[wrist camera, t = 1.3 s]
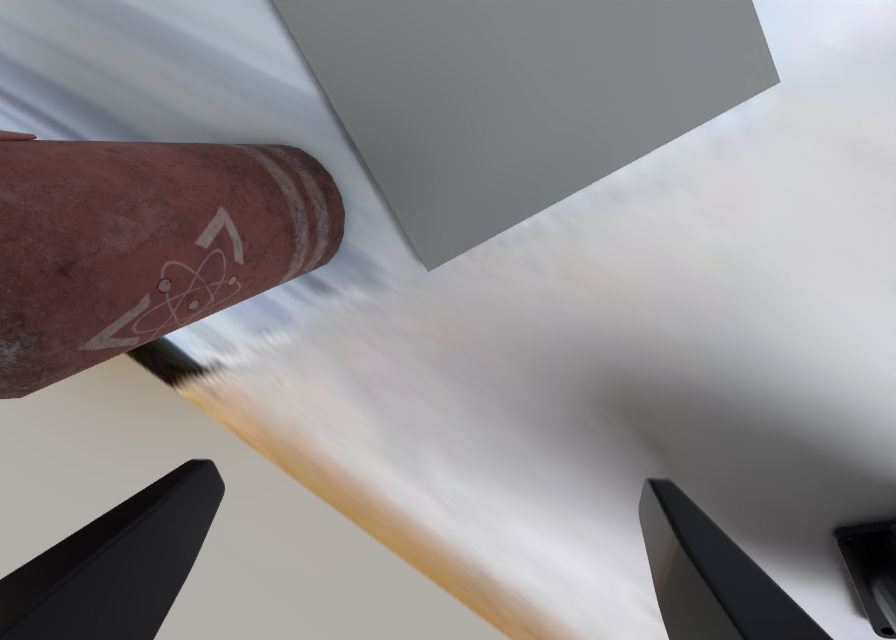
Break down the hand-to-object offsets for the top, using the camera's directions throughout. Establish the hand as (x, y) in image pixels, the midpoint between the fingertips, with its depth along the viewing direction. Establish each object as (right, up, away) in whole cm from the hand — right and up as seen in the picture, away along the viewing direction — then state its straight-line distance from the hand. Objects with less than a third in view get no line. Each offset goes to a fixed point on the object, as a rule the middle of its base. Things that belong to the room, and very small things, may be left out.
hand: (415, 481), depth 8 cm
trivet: (+2, +14, +7) cm, 16 cm away
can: (-7, +9, +12) cm, 17 cm away
